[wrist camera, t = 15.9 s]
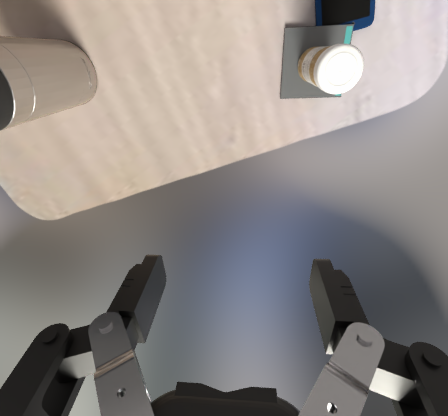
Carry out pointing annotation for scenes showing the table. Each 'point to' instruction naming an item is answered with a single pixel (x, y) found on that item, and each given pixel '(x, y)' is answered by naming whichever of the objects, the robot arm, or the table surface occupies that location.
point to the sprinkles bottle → (332, 67)
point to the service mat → (296, 45)
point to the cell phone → (345, 12)
